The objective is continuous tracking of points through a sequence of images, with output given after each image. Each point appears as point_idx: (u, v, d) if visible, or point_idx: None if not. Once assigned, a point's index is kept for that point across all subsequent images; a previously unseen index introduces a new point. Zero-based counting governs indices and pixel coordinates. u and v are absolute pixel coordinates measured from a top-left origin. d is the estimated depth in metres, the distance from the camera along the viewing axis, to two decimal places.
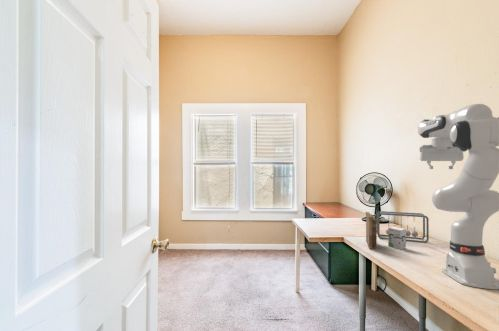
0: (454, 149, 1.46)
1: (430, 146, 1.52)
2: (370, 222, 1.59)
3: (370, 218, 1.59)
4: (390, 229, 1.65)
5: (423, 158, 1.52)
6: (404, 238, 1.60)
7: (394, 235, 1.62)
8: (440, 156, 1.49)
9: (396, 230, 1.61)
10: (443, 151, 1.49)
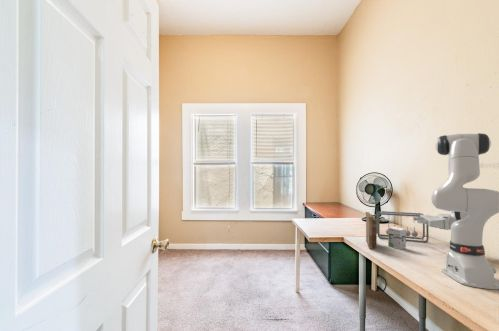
0: (440, 218, 1.51)
1: None
2: (370, 222, 1.59)
3: (370, 218, 1.59)
4: (390, 229, 1.65)
5: (422, 215, 1.67)
6: (404, 238, 1.60)
7: (394, 235, 1.62)
8: (429, 217, 1.59)
9: (396, 230, 1.61)
10: (435, 218, 1.57)
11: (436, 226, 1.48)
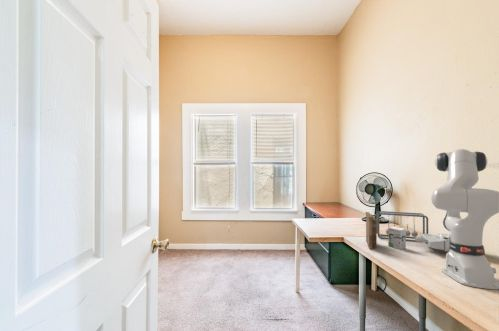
0: (440, 239, 1.51)
1: None
2: (370, 222, 1.59)
3: (370, 218, 1.59)
4: (390, 229, 1.65)
5: None
6: (404, 238, 1.60)
7: (394, 235, 1.62)
8: (429, 237, 1.59)
9: (396, 230, 1.61)
10: (435, 238, 1.56)
11: (436, 247, 1.48)
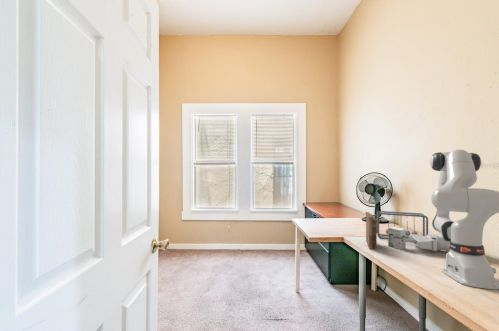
0: (429, 239, 1.53)
1: None
2: (370, 222, 1.59)
3: (370, 218, 1.59)
4: (390, 229, 1.65)
5: (412, 234, 1.68)
6: (404, 238, 1.60)
7: (394, 235, 1.62)
8: (418, 237, 1.60)
9: (396, 230, 1.61)
10: (424, 238, 1.58)
11: (424, 247, 1.50)
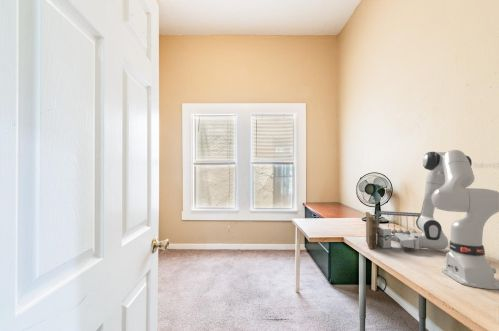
0: (411, 237, 1.56)
1: None
2: (370, 222, 1.59)
3: (370, 218, 1.59)
4: (377, 228, 1.68)
5: (396, 233, 1.71)
6: (388, 237, 1.61)
7: (379, 234, 1.65)
8: (401, 236, 1.63)
9: (381, 229, 1.64)
10: (407, 237, 1.61)
11: (407, 245, 1.53)
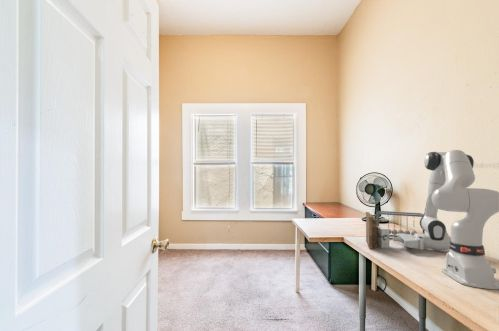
0: (416, 238, 1.55)
1: None
2: (370, 222, 1.59)
3: (370, 218, 1.59)
4: None
5: (400, 233, 1.70)
6: (387, 237, 1.61)
7: (378, 234, 1.65)
8: (405, 236, 1.62)
9: (379, 229, 1.64)
10: (411, 237, 1.60)
11: (411, 246, 1.52)
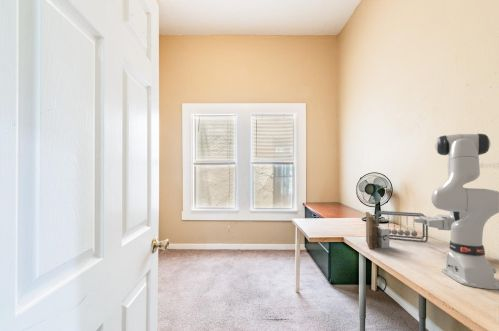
0: (439, 218, 1.51)
1: None
2: (370, 222, 1.59)
3: (370, 218, 1.59)
4: None
5: (421, 216, 1.67)
6: (387, 237, 1.61)
7: (378, 234, 1.65)
8: (428, 218, 1.59)
9: (379, 229, 1.64)
10: (434, 219, 1.56)
11: (435, 226, 1.48)
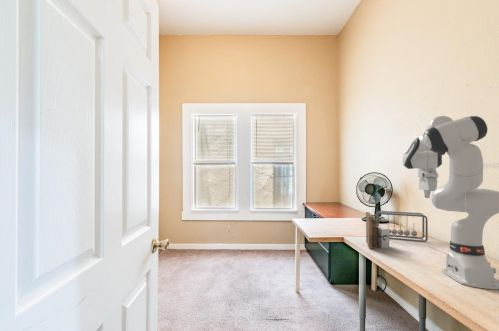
0: (424, 179, 1.51)
1: None
2: (370, 222, 1.59)
3: (370, 218, 1.59)
4: None
5: (419, 186, 1.64)
6: (387, 237, 1.61)
7: (378, 234, 1.65)
8: (423, 185, 1.57)
9: (379, 229, 1.64)
10: (424, 181, 1.55)
11: (435, 185, 1.46)
